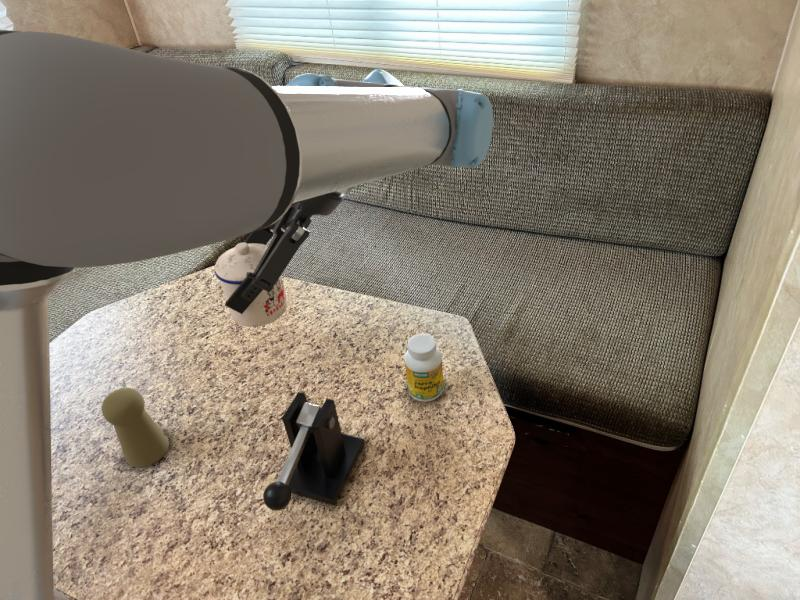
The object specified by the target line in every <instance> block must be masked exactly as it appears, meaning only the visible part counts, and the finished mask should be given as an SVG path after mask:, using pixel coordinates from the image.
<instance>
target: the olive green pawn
mask: <svg viewBox="0 0 800 600" xmlns="http://www.w3.org/2000/svg"><path fill="white" fill-rule="evenodd" d="M144 399H145V398H144V397H143V394H141V392H139V391H138V390H137V389H135V388H132V387H121V388H119V389H115V390H113V391H111V392H109V394H108V395H107V396H105V398H104V400H103V402H102V405H101V413H102V416H103V418H104V419H105V421H106V422H107V423H109V424H110V425H113V427H114V430H115V433H116V436H117V439H118V442H119V444H120V447H121V450H122V453H123V456H124V459H125V461H126V462H127V464H128V465H129V466H131V467H133V468H146V467H149V466H152V465H154V464H155V463H157V462H159V461H160V460H161V459H163V457H164V456H165V455H166V453H167V451H168V450H169V446H170V441H169V438H168V437H167V436H166V434H165V433H164V431H163V430H162V428H160V426H159V425H158V424H157V423H156V422H155V420H154V419H153V418H152V417H151V416H150V414H149V412H148V411H147V410H146V409H145V407H146V405H145V400H144Z"/></svg>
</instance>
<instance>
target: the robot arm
mask: <svg viewBox="0 0 800 600" xmlns="http://www.w3.org/2000/svg"><path fill="white" fill-rule="evenodd" d="M493 130H494V110H493V105H492V103H491V101H490V99H489V98H488V96H487V95H485V94H483V93H481V92H474V91H468V90H464V89H460V88H457V89H450V88H449V89H447V88H436V87H427V86H411V85H404V84H402V83H401V81H400V80H398V79H397V78H396V77H394V76H393V75H392V74H391V73H389V72H388V71H385V70H384V69H381V68H375V69H374V70H372V71H371V72H370V73H369V74H368V75H366V77H365V78H363V79H362V80H361V81H360V80H350V79H341V78H333V77H331V76H330V75H327V74H320V73H317V74H316V73H311V72H310V73H302V74H299V75H296V76H295V77H294V78H292V79H290V81H288V83H287V84H286V85H284V86H283V85H282V86H280V85H277V86H276V85H274V86H273V85H272V84H271V83H270V82H268V81H267V80H266V79H264V78H263V77H262V76H260V75H259V74H256V73H255V72H253V71H250V70H247V69H245V68H240V67H236V66H224V65H223V66H221V65H211V64H203V63H197V62H192V61H185V60H181V59H175V58H171V57H165V56H160V55H156V54H151V53H149V52H148V53H147V52H145V51H144V52H143V51H140V50H135V49H131V48H127V47H123V46H118V45H114V44H110V43H106V42H103V41H102V42H101V41H98V40H97V41H96V40H92V39H87V38H82V37H78V36H73V35H72V36H71V35H67V34H63V33H53V32H43V31H42V32H41V31H34V30H33V31H31V30H27V31H21V30H20V31H18V30H8V29H0V600H70V599H69V597H68V596H66V595H65V594H63V593H62V592H61V591H59V590H57V589H55V588H54V587H55V586H54V535H53V534H54V532H53V531H54V530H53V529H54V528H53V479H52V478H53V476H52V475H53V474H52V473H53V472H52V471H53V470H52V468H53V467H52V419H51V418H52V417H51V414H52V413H51V412H52V411H51V363H50V362H51V361H50V360H51V359H50V358H51V357H50V355H51V353H50V300H49V299H50V296H51V295H52V293H53V292H54V291H55V290H56V289H57V288H59V287H60V286H62V284H63V283H65V281H67V280H69V278H71V277H72V276H73V275H74V274H75V272H76V268H79V269H80V268H82V269H83V268H84V269H85V268H96V267H107V266H113V265H122V264H129V263H136V262H141V261H146V260H151V259H156V258H162V257H166V256H171V255H175V254H179V253H183V252H186V251H190V250H194V249H198V248H202V247H203V248H204V247H207V246H211V245H214V244H218V243H222V242H225V241H230V240H233V239H235V238H238V237H242V236H245V235H248V234H249V235H248V236H247V238H246V239H245V240H244V241H243V243H247V244H252V243H256V244H263V245H267V244H268V243H269V242H270V243H269V244H268V245H267V246H268V248H267V249H266V251H265V253H264V255H263V257H262V258H261V260H260V262H259V264H258V265H257V267H256V269H255V271H254V272H253V273H252V272H247V274H246V276H247V277H246V278H245V279H244V281H243V282H242V283H241V284H240V285H239V287H238V288H237V289H236V290H235V291H234V293H233V294H232V295H231V296H230V297H229V299H228V300H227V301H226V300H225V303H224V306H225V307H226V308H228V307H229V308H231V309H233V310H235V311H237V312H239V313H240V314H243V312H244V311H245V310H246V309H247V308H248V307H249V305H250V304H251V303H252V302H253V301H254V300H255V298H256V297H257V296H258V295H259V294H260V293H261V291H262V290H265V291H267V292H270V291H271V290H272V288H273V287H274V285H275V284H276V282H277V280H278V279H279V277H280V276H281V277H282V274H283V273H284V271H285V270H286V269H287V267H288V265H289V264H290V262H291V261H292V259H293V258H294V257H295V255H296V253H297V251H298V250H299V248H300V247H301V246H302V244H303V243H304V242H305V241H306V240H307V239H308V238H309V236H310V234H311V232H310V230H308V228H309V226H310V224H311V223H312V221H313V220H312V217H313V216H320V217H321V216H322V217H327V216H330V215H331V214H332V213H333V212H334V211H335V210H336V209H337V207H339V205H341V203H342V202H343V201H344V199H346V195H347V194H349V193H350V192H351V191H352V190H353V188H354V187H356V186H361V185H364V184H367V183H371V182H374V181H378V180H381V179H384V178H389V177H392V176H396V175H399V174H403V173H406V172H411V171H414V170H418V169H422V168H425V167H430V166H433V165H436V166H437V165H438V166H439V165H440V166H446V167H450V169H455V168H462V169H463V168H465V169H474V168H476V167H478V166H480V165H481V164H482V163H483V161H484V160H485V159H486V156H487V154H488V151H489V149H490V146H491V141H492V135H493ZM229 308H228V309H229Z"/></svg>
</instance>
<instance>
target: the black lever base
mask: <svg viewBox="0 0 800 600" xmlns="http://www.w3.org/2000/svg"><path fill="white" fill-rule="evenodd" d="M304 403H309V402H308V398H307V395H306V392H302V391H298V392H296V394H295V397H294V398H293V400H292V401H291V402H290V404H289V405H288V408H287V409H286V411H285V412H284V414H283V415H282V416H281V419H282V424H283V426H284V429H285V432H286V435H287V439H288V442H289V445H290V450H291V449H292V446H293V444H294V442H295V440H296V437H297V435H298V433H299V430H300V427H299V426H298V425H297V423H296V421H297V418H298V416H299V414H300V412H301V409H302V407H303V405H304ZM311 426H312V430H313V433H310V435H309V437H308V440H307V442H306V444H305V447H304V449H303V452H302V454H301V456H300V459H299V461H298V463H297V466H296V468H295V470H294V473H293V475H292V478H291V480H290V482H289V485H288V486H289V488H290V490H291V494H292V495H296V496H298V497H299V496H300V497H303V498H307V499H310V500H313V501H316V502H320V503H324V504H328V505H330V506H336V504H337V502H338V500H339V498H340V496H341V494H342V493H343V490H344V488H345V487H346V484H347V483H348V480H349V478H350V476H351V474H352V472H353V469H354V467H355V466H356V463H357V461H358V459H359V457H360V455H361V454H362V451H363V448H365V447H364V446H365V445H366V444H365V439H364V438H362V437H357V436H353V435H350V434H346V433H342V429H341V426H340V421H339V416H338V412H337V408H336V402H335V400H334V399H331V398H325V401H324V402H323V404H322V406H321V409H320V411H319V413H318V415H317V416H316V418H315V420H314V421H313V423H312V425H311Z"/></svg>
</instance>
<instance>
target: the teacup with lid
mask: <svg viewBox="0 0 800 600" xmlns="http://www.w3.org/2000/svg"><path fill="white" fill-rule="evenodd" d="M268 246H269V245H267V244H266V245H263V244H256V243H252V244H247V243H244V242H239V243H237V244H236V245H235V246H234V247H232V248H230V249H228V250H226V251H225V252H223V253H222V254H221V255H220V256H219V257H218V258H217V260H216V261H215V265H214V274H215V275H214V276H215V277H216V278H217V279H218V281H219V283H220V287H221V289H222V293H223V296H224V299H225V302H226V301H227V300H228V299H229V297H230V296H231V295H232V294H233V293H234V291H235V290H236V289H237V288H238V287H239V285H240V284H241V283H242V282H243V281H244V279H245V278H246V277H247V276H246V274H247V272H252V273H253V272H254V271H255V269H256V267H257V265H258V264H259V262H260V260H261V258H262V257H263V255H264V253H265V251H266V249H267V248H268ZM286 293H287V292H286V290H285V286H284V281H283V277H282V275H281V276H280V277H279V279H278V280H277V282H276V284H275V285H274V287H273V288H272V290H271V291H270V292H267V291H265V290H262V291H261V293H260V294H259V295H258V296H257V297H256V298H255V300H254V301H253V302H252V303H251V304H250V305H249V307H248V308H247V309H246V310H245V311H244V312H243V314H240V313H239V312H237V311H235V310H233V309H231V308H229V307H227V308H228V311H229V313H230V316H231V319H232V320H233V321H234V323H236V324H238V325H239V326H243V327H248V328H258V327H263V326H266V325H269V324H271V323H274V322H275V321H277V320H278V319H279V318H281V317H282V316H283V315H284V314H285V312H286V311H287V309H288V303H289V300H288V297H287V294H286Z"/></svg>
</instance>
